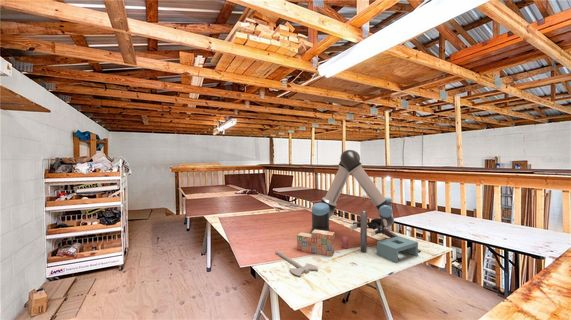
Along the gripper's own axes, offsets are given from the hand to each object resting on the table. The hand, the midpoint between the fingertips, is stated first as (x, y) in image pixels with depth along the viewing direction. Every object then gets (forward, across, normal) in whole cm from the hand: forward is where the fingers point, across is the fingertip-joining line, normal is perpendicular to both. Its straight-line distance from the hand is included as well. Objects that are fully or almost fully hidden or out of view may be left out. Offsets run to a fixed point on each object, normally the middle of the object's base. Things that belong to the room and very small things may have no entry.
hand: (360, 230), depth 140 cm
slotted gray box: (-37, -6, -14) cm, 40 cm away
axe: (+39, +18, -14) cm, 45 cm away
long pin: (-3, 0, -13) cm, 13 cm away
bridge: (-13, -16, -13) cm, 24 cm away
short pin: (0, +11, -13) cm, 17 cm away
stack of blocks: (+18, +19, -13) cm, 29 cm away
